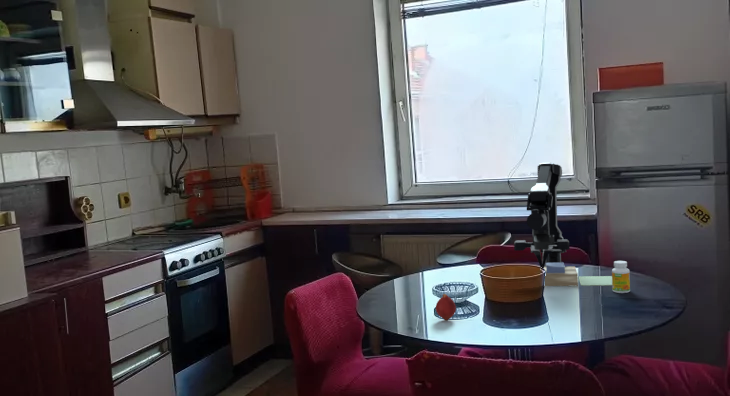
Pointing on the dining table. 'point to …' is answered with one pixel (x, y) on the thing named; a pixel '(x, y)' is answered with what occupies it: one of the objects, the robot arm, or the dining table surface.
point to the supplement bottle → (620, 277)
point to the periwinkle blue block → (555, 267)
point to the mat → (595, 280)
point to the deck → (562, 277)
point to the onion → (445, 307)
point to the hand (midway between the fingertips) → (542, 269)
